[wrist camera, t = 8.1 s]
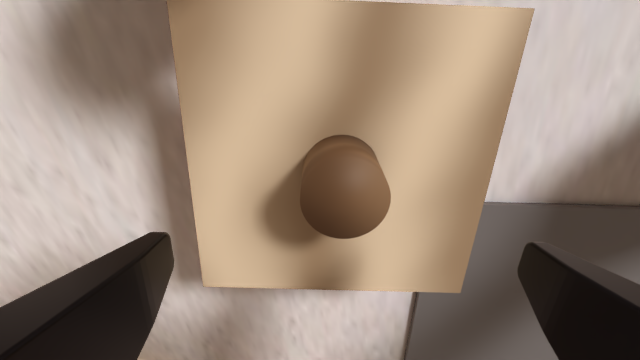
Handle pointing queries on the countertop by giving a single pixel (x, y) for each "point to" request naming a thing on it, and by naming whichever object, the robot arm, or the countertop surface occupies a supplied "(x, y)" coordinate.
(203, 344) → the countertop surface
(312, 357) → the countertop surface
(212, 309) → the countertop surface
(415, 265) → the lid
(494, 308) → the mat
